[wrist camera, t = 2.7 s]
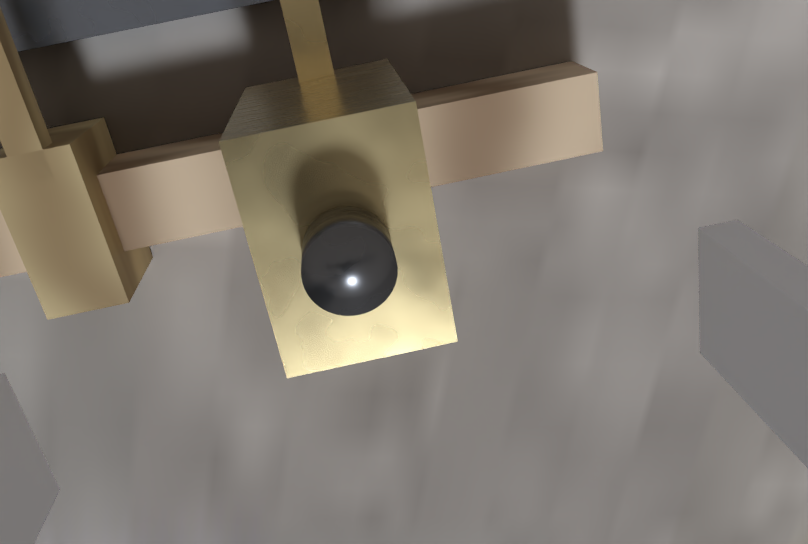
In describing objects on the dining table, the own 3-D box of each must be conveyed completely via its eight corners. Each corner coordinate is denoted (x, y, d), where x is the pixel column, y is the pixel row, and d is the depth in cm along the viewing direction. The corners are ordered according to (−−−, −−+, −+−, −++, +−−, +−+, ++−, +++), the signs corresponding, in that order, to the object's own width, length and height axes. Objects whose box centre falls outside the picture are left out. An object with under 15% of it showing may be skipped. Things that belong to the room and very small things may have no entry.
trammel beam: (22, 284, 31) (-21, 334, 27) (-143, -93, 25) (-229, -102, 21) (580, 167, 32) (619, 198, 28) (546, -227, 26) (589, -260, 22)
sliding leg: (294, 254, 30) (285, 409, 20) (181, -177, 24) (83, -272, 14) (416, 229, 30) (468, 369, 20) (335, -206, 24) (350, -322, 14)
